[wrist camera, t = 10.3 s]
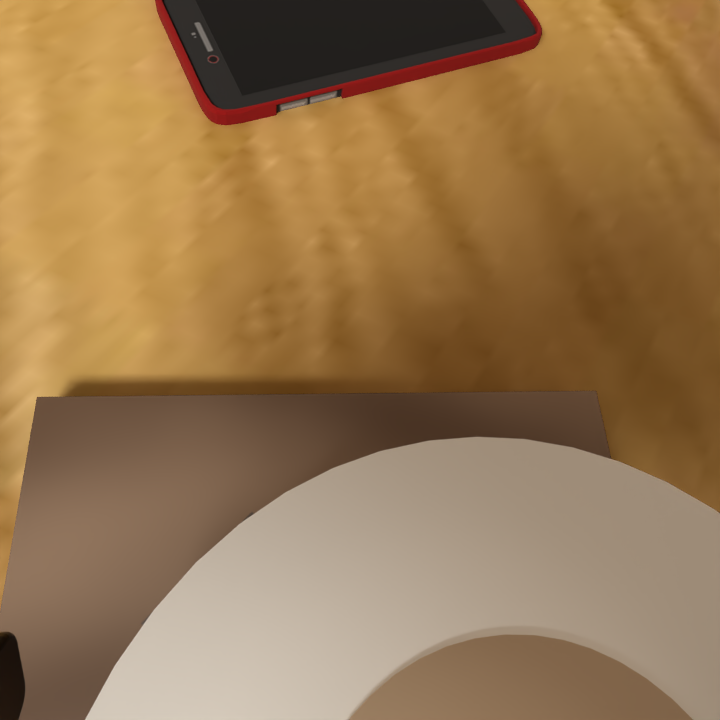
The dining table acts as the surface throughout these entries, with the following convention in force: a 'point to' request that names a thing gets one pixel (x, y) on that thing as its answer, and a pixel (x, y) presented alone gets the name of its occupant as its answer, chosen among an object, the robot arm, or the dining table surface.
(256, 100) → the cell phone
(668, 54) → the dining table surface
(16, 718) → the robot arm
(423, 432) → the roll holder stand
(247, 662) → the paper roll
